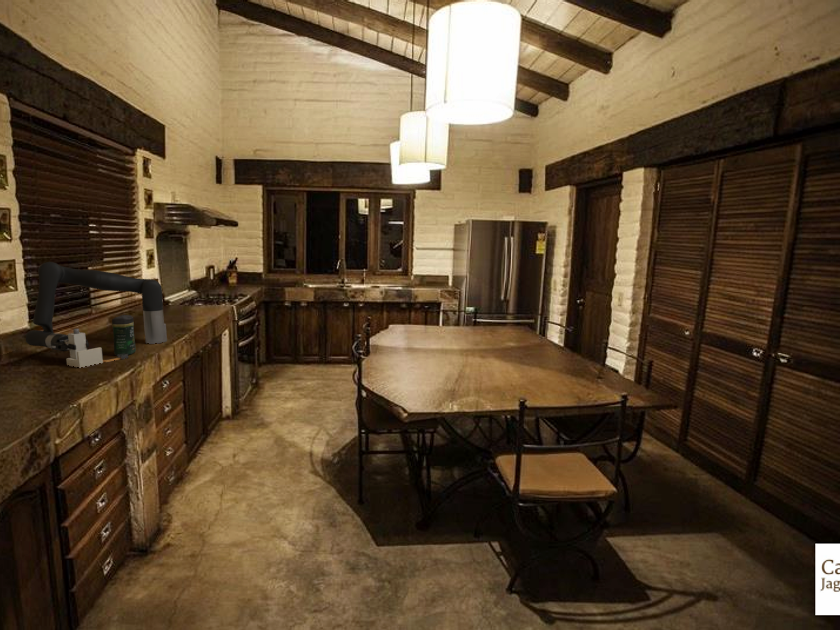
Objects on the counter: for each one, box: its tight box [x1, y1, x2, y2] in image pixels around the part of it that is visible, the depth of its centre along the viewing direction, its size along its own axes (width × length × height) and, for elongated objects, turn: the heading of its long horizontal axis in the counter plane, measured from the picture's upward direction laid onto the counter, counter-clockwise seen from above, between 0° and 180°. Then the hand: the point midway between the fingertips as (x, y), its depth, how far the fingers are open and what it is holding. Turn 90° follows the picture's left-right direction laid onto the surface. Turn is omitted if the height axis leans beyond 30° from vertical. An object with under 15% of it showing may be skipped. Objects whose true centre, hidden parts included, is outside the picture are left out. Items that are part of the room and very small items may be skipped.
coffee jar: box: [111, 314, 137, 356], centre depth 226 cm, size 10×8×19 cm
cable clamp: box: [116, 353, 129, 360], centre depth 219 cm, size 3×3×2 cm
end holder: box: [65, 347, 104, 369], centre depth 208 cm, size 10×9×7 cm
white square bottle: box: [67, 328, 88, 360], centre depth 209 cm, size 4×4×14 cm
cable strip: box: [103, 357, 122, 363], centre depth 215 cm, size 10×5×1 cm, turn 154°
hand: (81, 346), depth 208 cm, fingers closed on white square bottle, 4 cm apart
